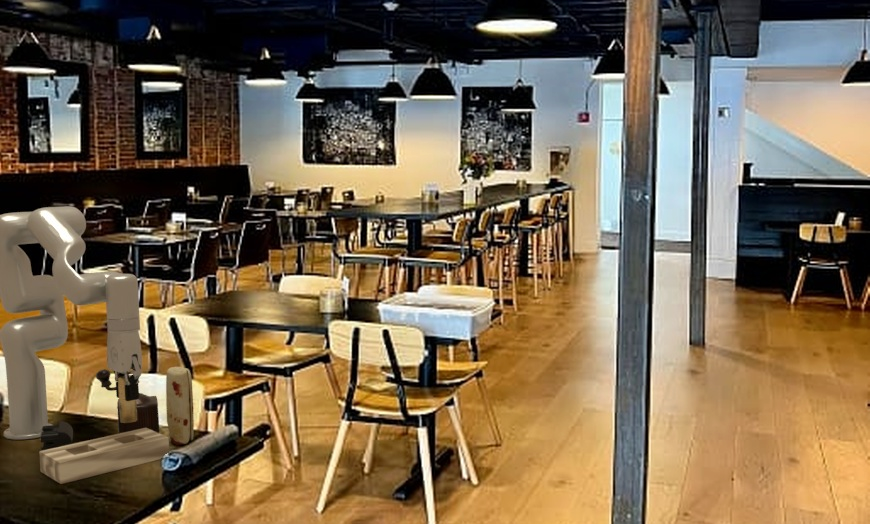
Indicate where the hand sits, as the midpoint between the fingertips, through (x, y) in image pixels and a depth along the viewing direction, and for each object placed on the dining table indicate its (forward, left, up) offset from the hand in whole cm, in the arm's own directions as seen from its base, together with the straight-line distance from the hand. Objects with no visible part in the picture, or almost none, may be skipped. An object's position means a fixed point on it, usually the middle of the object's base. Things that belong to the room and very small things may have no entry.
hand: (127, 397), depth 226 cm
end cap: (-18, -11, -16) cm, 26 cm away
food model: (-3, +15, -16) cm, 22 cm away
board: (0, -6, -15) cm, 17 cm away
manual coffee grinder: (-18, +8, -16) cm, 25 cm away
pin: (0, 0, -6) cm, 6 cm away
